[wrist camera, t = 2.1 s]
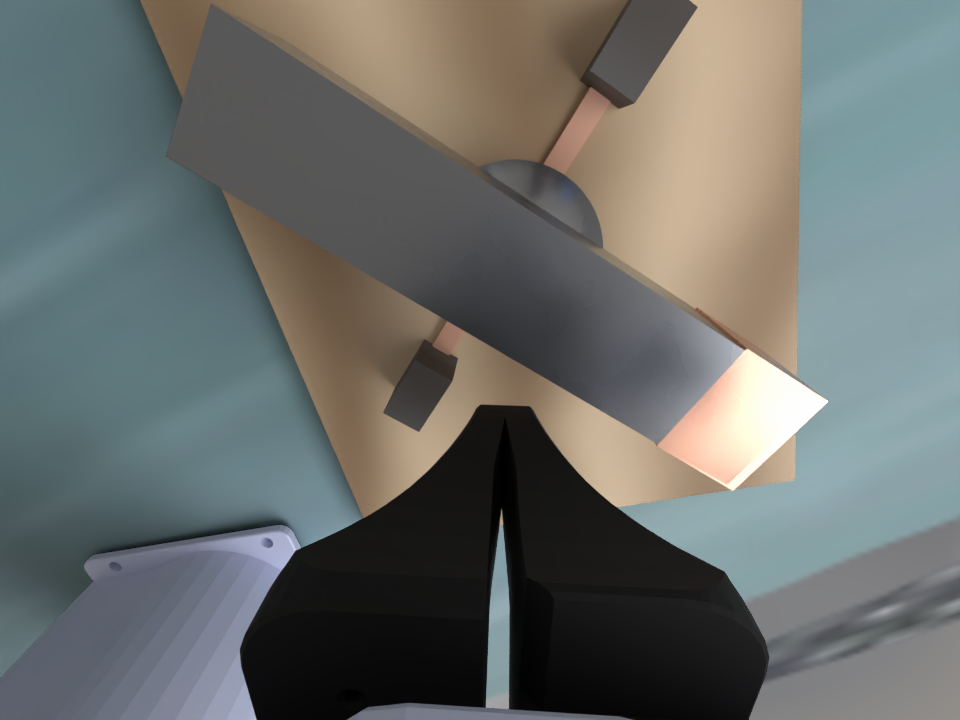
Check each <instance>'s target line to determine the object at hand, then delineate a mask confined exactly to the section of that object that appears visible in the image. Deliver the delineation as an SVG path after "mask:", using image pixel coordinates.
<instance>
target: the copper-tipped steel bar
mask: <svg viewBox="0 0 960 720" xmlns="http://www.w3.org/2000/svg"><path fill="white" fill-rule="evenodd" d="M166 157H167V158H169V159H171V160H173V161H174V162H176V163H178V164H179V165H181V166H183V167H185V168H186V169H188V170H190V171H191V172H193V173H195V174H197V175H198V176H200V177H202V178H203V179H205V180H207V181H209V182H210V183H212V184H214V185H215V186H217V187H219V188H221V189H222V190H224V191H226V192H227V193H229V194H231V195H232V196H234V197H236V198H238V199H239V200H241V201H243V202H244V203H246V204H248V205H250V206H251V207H253V208H255V209H256V210H258V211H260V212H262V213H263V214H265V215H267V216H268V217H270V218H272V219H274V220H275V221H277V222H279V223H280V224H282V225H284V226H286V227H287V228H289V229H291V230H292V231H294V232H296V233H297V234H299V235H301V236H303V237H304V238H306V239H308V240H309V241H311V242H313V243H315V244H316V245H318V246H320V247H321V248H323V249H325V250H327V251H328V252H330V253H332V254H333V255H335V256H337V257H339V258H340V259H342V260H344V261H345V262H347V263H349V264H351V265H352V266H354V267H356V268H357V269H359V270H361V271H362V272H364V273H366V274H368V275H369V276H371V277H373V278H374V279H376V280H378V281H380V282H381V283H383V284H385V285H386V286H388V287H390V288H392V289H393V290H395V291H397V292H398V293H400V294H402V295H404V296H405V297H407V298H409V299H410V300H412V301H414V302H416V303H417V304H419V305H421V306H422V307H424V308H426V309H427V310H429V311H431V312H433V313H434V314H436V315H438V316H439V317H441V318H443V319H445V320H446V321H448V322H450V323H451V324H453V325H455V326H457V327H458V328H460V329H462V330H463V331H465V332H467V333H469V334H470V335H472V336H474V337H475V338H477V339H479V340H481V341H482V342H484V343H486V344H487V345H489V346H491V347H492V348H494V349H496V350H498V351H499V352H501V353H503V354H504V355H506V356H508V357H510V358H511V359H513V360H515V361H516V362H518V363H520V364H522V365H523V366H525V367H527V368H528V369H530V370H532V371H534V372H535V373H537V374H539V375H540V376H542V377H544V378H545V379H547V380H549V381H551V382H552V383H554V384H556V385H557V386H559V387H561V388H563V389H564V390H566V391H568V392H569V393H571V394H573V395H575V396H576V397H578V398H580V399H581V400H583V401H585V402H587V403H588V404H590V405H592V406H593V407H595V408H597V409H599V410H600V411H602V412H604V413H605V414H607V415H609V416H610V417H612V418H614V419H616V420H617V421H619V422H621V423H622V424H624V425H626V426H628V427H629V428H631V429H633V430H634V431H636V432H638V433H640V434H641V435H643V436H645V437H646V438H648V439H650V440H652V441H653V442H655V444H656V446H657V447H659V448H661V449H662V450H664V451H666V452H667V453H669V454H671V455H673V456H674V457H676V458H678V459H679V460H681V461H683V462H685V463H686V464H688V465H690V466H691V467H693V468H695V469H697V470H698V471H700V472H702V473H703V474H705V475H707V476H709V477H710V478H712V479H714V480H715V481H717V482H719V483H721V484H722V485H724V486H726V487H727V488H729V489H731V490H734V489H736V488H737V487H738V486H739V485H740V484H741V483H742V482H743V481H744V480H745V479H746V478H747V477H748V476H749V475H750V474H752V473H753V472H754V471H755V470H756V469H757V468H758V467H759V466H760V465H761V464H762V463H763V462H764V461H765V460H766V459H767V458H769V457H770V456H771V455H772V454H773V453H774V452H775V451H776V450H777V449H778V448H779V447H780V446H781V445H782V444H783V443H785V442H786V441H787V440H788V439H789V438H790V437H791V436H792V435H793V434H794V433H795V432H796V431H797V430H798V429H799V428H800V427H802V426H803V425H804V424H805V423H806V422H807V421H808V420H809V419H810V418H811V417H812V416H813V415H814V414H815V413H816V412H818V411H819V410H820V409H821V408H822V407H823V406H824V405H825V404H826V403H827V402H828V401H827V400H826V399H824V398H823V397H822V396H821V395H819V394H818V393H817V392H815V391H814V390H813V389H812V388H810V387H809V386H808V385H806V384H805V383H804V382H803V381H801V380H800V379H799V378H798V377H796V376H795V375H794V374H792V373H791V372H790V371H789V370H787V369H786V368H785V367H783V366H782V365H781V364H780V363H778V362H777V361H776V360H775V359H773V358H772V357H771V356H769V355H768V354H767V353H766V352H764V351H763V350H762V349H760V348H758V347H757V346H755V345H754V344H752V343H751V342H749V341H748V340H746V339H745V338H743V337H742V336H740V335H739V334H737V333H736V332H734V331H733V330H731V329H730V328H728V327H726V326H725V325H723V324H722V323H720V322H719V321H717V320H716V319H714V318H713V317H711V316H710V315H708V314H707V313H705V312H704V311H702V310H701V309H699V308H698V307H696V309H695V308H693V307H692V306H690V305H689V304H687V303H686V302H684V301H683V300H681V299H680V298H678V297H677V296H675V295H673V294H672V293H670V292H669V291H667V290H666V289H664V288H663V287H661V286H660V285H658V284H657V283H655V282H654V281H652V280H651V279H649V278H648V277H646V276H644V275H643V274H641V273H640V272H638V271H637V270H635V269H634V268H632V267H631V266H629V265H628V264H626V263H625V262H623V261H622V260H620V259H619V258H617V257H615V256H614V255H612V254H611V253H609V252H608V251H606V250H605V249H603V237H602V231H601V227H600V223H599V220H598V217H597V214H596V212H595V210H594V208H593V206H592V204H591V202H590V201H589V199H588V198H587V196H586V195H585V194H584V192H583V191H582V190H581V189H580V188H579V187H578V186H577V185H576V184H575V183H574V182H573V181H572V180H571V179H569V178H568V177H567V176H566V175H564V174H562V173H561V172H559V171H557V170H555V169H554V168H551V167H549V166H546V165H544V164H541V163H539V162H534V161H530V160H524V159H504V160H499V161H493V162H490V163H488V164H485V165H482V166H480V167H478V166H477V165H475V164H473V163H472V162H470V161H469V160H467V159H466V158H464V157H463V156H461V155H460V154H458V153H457V152H455V151H454V150H452V149H451V148H449V147H448V146H446V145H444V144H443V143H441V142H440V141H438V140H437V139H435V138H434V137H432V136H431V135H429V134H428V133H426V132H425V131H423V130H422V129H420V128H419V127H417V126H415V125H414V124H412V123H411V122H409V121H408V120H406V119H405V118H403V117H402V116H400V115H399V114H397V113H396V112H394V111H393V110H391V109H390V108H388V107H386V106H385V105H383V104H382V103H380V102H379V101H377V100H376V99H374V98H373V97H371V96H370V95H368V94H367V93H365V92H364V91H362V90H361V89H359V88H357V87H356V86H354V85H353V84H351V83H350V82H348V81H347V80H345V79H344V78H342V77H341V76H339V75H338V74H336V73H335V72H333V71H332V70H330V69H328V68H327V67H325V66H324V65H322V64H321V63H319V62H318V61H316V60H315V59H313V58H312V57H310V56H309V55H307V54H306V53H304V52H303V51H301V50H299V49H298V48H296V47H295V46H293V45H292V44H290V43H289V42H287V41H286V40H284V39H282V38H280V37H278V36H276V35H274V34H272V33H270V32H268V31H266V30H264V29H262V28H260V27H258V26H256V25H254V24H252V23H250V22H248V21H246V20H244V19H242V18H240V17H238V16H236V15H234V14H232V13H230V12H228V11H226V10H224V9H222V8H220V7H218V6H216V5H214V4H212V3H211V4H210V8H209V11H208V15H207V18H206V21H205V25H204V28H203V32H202V35H201V38H200V42H199V45H198V49H197V52H196V55H195V59H194V62H193V66H192V69H191V72H190V76H189V79H188V83H187V86H186V90H185V93H184V96H183V100H182V103H181V107H180V110H179V113H178V117H177V120H176V124H175V127H174V130H173V134H172V137H171V141H170V144H169V148H168V151H167V154H166Z"/></svg>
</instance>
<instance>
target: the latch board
mask: <svg viewBox="0 0 960 720" xmlns="http://www.w3.org/2000/svg"><path fill="white" fill-rule="evenodd" d="M140 2H141V4H142V6H143V8H144V11H145V13H146V15H147V18H148V20H149V22H150V25H151V27H152V29H153V32H154V34H155V36H156V39H157V41H158V43H159V46H160V48H161V50H162V53H163V55H164V57H165V59H166V62H167V64H168V66H169V69H170V71H171V73H172V76H173V78H174V80H175V83H176V85H177V87H178V90H179V92H180V94H181V97H182V99H183V96H184V93H185V90H186V86H187V83H188V79H189V76H190V72H191V69H192V66H193V62H194V59H195V55H196V52H197V49H198V45H199V42H200V38H201V35H202V32H203V28H204V25H205V21H206V18H207V15H208V11H209V8H210V4H211V3H212V4H214V5H216V6H218V7H220V8H222V9H224V10H226V11H228V12H230V13H232V14H234V15H236V16H238V17H240V18H242V19H244V20H246V21H248V22H250V23H252V24H254V25H256V26H258V27H260V28H262V29H264V30H266V31H268V32H270V33H272V34H274V35H276V36H278V37H280V38H282V39H284V40H286V41H287V42H289V43H290V44H292V45H293V46H295V47H296V48H298V49H299V50H301V51H303V52H304V53H306V54H307V55H309V56H310V57H312V58H313V59H315V60H316V61H318V62H319V63H321V64H322V65H324V66H325V67H327V68H328V69H330V70H332V71H333V72H335V73H336V74H338V75H339V76H341V77H342V78H344V79H345V80H347V81H348V82H350V83H351V84H353V85H354V86H356V87H357V88H359V89H361V90H362V91H364V92H365V93H367V94H368V95H370V96H371V97H373V98H374V99H376V100H377V101H379V102H380V103H382V104H383V105H385V106H386V107H388V108H390V109H391V110H393V111H394V112H396V113H397V114H399V115H400V116H402V117H403V118H405V119H406V120H408V121H409V122H411V123H412V124H414V125H415V126H417V127H419V128H420V129H422V130H423V131H425V132H426V133H428V134H429V135H431V136H432V137H434V138H435V139H437V140H438V141H440V142H441V143H443V144H444V145H446V146H448V147H449V148H451V149H452V150H454V151H455V152H457V153H458V154H460V155H461V156H463V157H464V158H466V159H467V160H469V161H470V162H472V163H473V164H475V165H477V166H478V167H480V166H482V165H485V164H488V163H490V162H493V161H499V160H504V159H524V160H530V161H534V162H539V163H541V164H544V165H546V166H549V167H551V168H554V169H555V170H557V171H559V172H561V173H562V174H564V175H566V176H567V177H568V178H569V179H571V180H572V181H573V182H574V183H575V184H576V185H577V186H578V187H579V188H580V189H581V190H582V191H583V192H584V194H585V195H586V196H587V198H588V199H589V201H590V202H591V204H592V206H593V208H594V210H595V212H596V214H597V217H598V220H599V223H600V227H601V231H602V237H603V249H605V250H606V251H608V252H609V253H611V254H612V255H614V256H615V257H617V258H619V259H620V260H622V261H623V262H625V263H626V264H628V265H629V266H631V267H632V268H634V269H635V270H637V271H638V272H640V273H641V274H643V275H644V276H646V277H648V278H649V279H651V280H652V281H654V282H655V283H657V284H658V285H660V286H661V287H663V288H664V289H666V290H667V291H669V292H670V293H672V294H673V295H675V296H677V297H678V298H680V299H681V300H683V301H684V302H686V303H687V304H689V305H690V306H692V307H693V308H695V309H696V307H698V308H699V309H701V310H702V311H704V312H705V313H707V314H708V315H710V316H711V317H713V318H714V319H716V320H717V321H719V322H720V323H722V324H723V325H725V326H726V327H728V328H730V329H731V330H733V331H734V332H736V333H737V334H739V335H740V336H742V337H743V338H745V339H746V340H748V341H749V342H751V343H752V344H754V345H755V346H757V347H758V348H760V349H762V350H763V351H764V352H766V353H767V354H768V355H769V356H771V357H772V358H773V359H775V360H776V361H777V362H778V363H780V364H781V365H782V366H783V367H785V368H786V369H787V370H789V371H790V372H791V373H792V374H794V375H795V376H796V377H797V312H798V246H799V181H800V116H801V51H802V0H140ZM222 192H223V194H224V196H225V199H226V201H227V203H228V206H229V208H230V210H231V212H232V215H233V217H234V219H235V222H236V224H237V226H238V229H239V231H240V233H241V236H242V238H243V240H244V243H245V245H246V247H247V250H248V252H249V254H250V257H251V259H252V261H253V263H254V266H255V268H256V270H257V273H258V275H259V277H260V280H261V282H262V284H263V287H264V289H265V291H266V294H267V296H268V298H269V301H270V303H271V305H272V308H273V310H274V312H275V314H276V317H277V319H278V321H279V324H280V326H281V328H282V331H283V333H284V335H285V338H286V340H287V342H288V345H289V347H290V349H291V352H292V354H293V356H294V359H295V361H296V363H297V365H298V368H299V370H300V372H301V375H302V377H303V379H304V382H305V384H306V386H307V389H308V391H309V393H310V396H311V398H312V400H313V403H314V405H315V407H316V410H317V412H318V414H319V416H320V419H321V421H322V423H323V426H324V428H325V430H326V433H327V435H328V437H329V440H330V442H331V444H332V447H333V449H334V451H335V454H336V456H337V458H338V461H339V463H340V465H341V467H342V470H343V472H344V474H345V477H346V479H347V481H348V484H349V486H350V488H351V491H352V493H353V495H354V498H355V500H356V502H357V505H358V507H359V509H360V512H361V514H362V516H363V518H365V517H367V516H368V515H370V514H371V513H373V512H375V511H376V510H378V509H380V508H381V507H383V506H384V505H386V504H387V503H389V502H390V501H391V500H393V499H394V498H396V497H397V496H398V495H400V494H401V493H403V492H404V491H405V490H406V489H408V488H409V487H410V486H411V485H413V484H414V483H415V482H416V481H417V480H418V479H419V478H421V477H422V476H423V475H424V474H425V473H426V472H427V471H428V470H429V469H430V468H431V467H432V466H433V465H434V464H435V463H436V462H437V461H438V460H439V459H440V457H441V456H442V455H443V454H444V453H445V452H446V451H447V450H448V449H449V447H450V446H451V445H452V444H453V442H454V441H455V440H456V438H457V437H458V436H459V435H460V433H461V432H462V431H463V429H464V428H465V426H466V425H467V423H468V422H469V420H470V419H471V417H472V415H473V413H474V412H475V409H476V408H477V407H478V406H479V405H480V404H485V405H512V406H530V407H531V408H532V409H533V410H534V412H535V414H536V416H537V418H538V419H539V421H540V423H541V424H542V426H543V428H544V429H545V431H546V432H547V434H548V435H549V437H550V438H551V440H552V441H553V442H554V444H555V445H556V446H557V448H558V449H559V450H560V452H561V453H562V454H563V455H564V457H565V458H566V459H567V460H568V462H569V463H570V464H571V465H572V466H573V467H574V468H575V470H576V471H577V472H578V473H579V474H580V475H581V476H582V477H583V478H584V479H585V480H586V481H587V482H588V483H589V484H590V485H591V486H592V487H593V488H594V489H595V490H596V491H597V492H599V493H600V494H601V495H602V496H603V497H604V498H606V499H607V500H608V501H609V502H610V503H612V504H613V505H614V506H616V507H621V506H628V505H634V504H641V503H648V502H654V501H661V500H668V499H674V498H681V497H687V496H694V495H701V494H707V493H714V492H720V491H727V490H731V489H729V488H727V487H726V486H724V485H722V484H721V483H719V482H717V481H715V480H714V479H712V478H710V477H709V476H707V475H705V474H703V473H702V472H700V471H698V470H697V469H695V468H693V467H691V466H690V465H688V464H686V463H685V462H683V461H681V460H679V459H678V458H676V457H674V456H673V455H671V454H669V453H667V452H666V451H664V450H662V449H661V448H659V447H657V446H656V444H655V442H653V441H652V440H650V439H648V438H646V437H645V436H643V435H641V434H640V433H638V432H636V431H634V430H633V429H631V428H629V427H628V426H626V425H624V424H622V423H621V422H619V421H617V420H616V419H614V418H612V417H610V416H609V415H607V414H605V413H604V412H602V411H600V410H599V409H597V408H595V407H593V406H592V405H590V404H588V403H587V402H585V401H583V400H581V399H580V398H578V397H576V396H575V395H573V394H571V393H569V392H568V391H566V390H564V389H563V388H561V387H559V386H557V385H556V384H554V383H552V382H551V381H549V380H547V379H545V378H544V377H542V376H540V375H539V374H537V373H535V372H534V371H532V370H530V369H528V368H527V367H525V366H523V365H522V364H520V363H518V362H516V361H515V360H513V359H511V358H510V357H508V356H506V355H504V354H503V353H501V352H499V351H498V350H496V349H494V348H492V347H491V346H489V345H487V344H486V343H484V342H482V341H481V340H479V339H477V338H475V337H474V336H472V335H470V334H469V333H467V332H465V331H463V330H462V329H460V328H458V327H457V326H455V325H453V324H451V323H450V322H448V321H446V320H445V319H443V318H441V317H439V316H438V315H436V314H434V313H433V312H431V311H429V310H427V309H426V308H424V307H422V306H421V305H419V304H417V303H416V302H414V301H412V300H410V299H409V298H407V297H405V296H404V295H402V294H400V293H398V292H397V291H395V290H393V289H392V288H390V287H388V286H386V285H385V284H383V283H381V282H380V281H378V280H376V279H374V278H373V277H371V276H369V275H368V274H366V273H364V272H362V271H361V270H359V269H357V268H356V267H354V266H352V265H351V264H349V263H347V262H345V261H344V260H342V259H340V258H339V257H337V256H335V255H333V254H332V253H330V252H328V251H327V250H325V249H323V248H321V247H320V246H318V245H316V244H315V243H313V242H311V241H309V240H308V239H306V238H304V237H303V236H301V235H299V234H297V233H296V232H294V231H292V230H291V229H289V228H287V227H286V226H284V225H282V224H280V223H279V222H277V221H275V220H274V219H272V218H270V217H268V216H267V215H265V214H263V213H262V212H260V211H258V210H256V209H255V208H253V207H251V206H250V205H248V204H246V203H244V202H243V201H241V200H239V199H238V198H236V197H234V196H232V195H231V194H229V193H227V192H226V191H224V190H222ZM795 442H796V432H795V433H794V434H793V435H792V436H791V437H790V438H789V439H788V440H787V441H786V442H785V443H783V444H782V445H781V446H780V447H779V448H778V449H777V450H776V451H775V452H774V453H773V454H772V455H771V456H770V457H769V458H767V459H766V460H765V461H764V462H763V463H762V464H761V465H760V466H759V467H758V468H757V469H756V470H755V471H754V472H753V473H752V474H750V475H749V476H748V477H747V478H746V479H745V480H744V481H743V482H742V483H741V484H740V485H739V486H738V487H737V488H736V489H740V488H747V487H753V486H760V485H767V484H773V483H780V482H786V481H793V480H795ZM502 524H503V518H502V510H501V518H500V525H502Z"/></svg>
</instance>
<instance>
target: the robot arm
mask: <svg viewBox="0 0 960 720" xmlns="http://www.w3.org/2000/svg"><path fill="white" fill-rule="evenodd" d="M501 510H502V518H503V529H504V541H505V552H506V563H507V574H508V585H509V603H510V654H509V709H495V708H486V683H487V657H488V632H489V607H490V595H491V586H492V578H493V570H494V563H495V555H496V548H497V540H498V533H499V525H500V518H501ZM267 538H268V539H267ZM269 539H271V540H269ZM84 569H85V571H86V572H87V573H88V575H89V576H90V577H91V579H92V580H93V582H92V583H91V584H90V585H89V586H88V587H87V588H86V589H85V590H84V592H83V593H82V594H81V595H80V596H79V597H78V598H77V599H76V600H75V601H74V602H73V603H72V604H71V605H70V606H69V607H68V608H67V609H66V610H65V611H64V612H63V613H62V614H61V615H60V616H59V617H58V618H57V620H56V621H55V622H54V623H53V624H52V625H51V626H50V627H49V628H48V629H47V630H46V631H45V632H44V633H43V634H42V635H41V636H40V637H39V638H38V639H37V640H36V641H35V642H34V643H33V644H32V645H31V647H30V648H29V649H28V650H27V651H26V652H25V653H24V654H23V655H22V656H21V657H20V658H19V659H18V660H17V661H16V662H15V663H14V664H13V665H12V666H11V667H10V668H9V669H8V670H7V671H6V672H5V673H4V675H3V676H2V677H1V678H0V720H749V717H750V714H751V712H752V709H753V707H754V704H755V702H756V699H757V697H758V694H759V691H760V689H761V686H762V684H763V681H764V679H765V676H766V672H767V667H768V661H769V655H768V650H767V646H766V642H765V639H764V637H763V636H762V634H761V632H760V630H759V628H758V626H757V624H756V622H755V620H754V618H753V616H752V614H751V613H750V611H749V609H748V608H747V606H746V604H745V602H744V601H743V599H742V597H741V596H740V594H739V593H738V592H737V590H736V589H735V587H734V586H733V584H732V583H731V581H730V580H729V578H728V576H727V575H726V573H725V572H724V571H722V570H720V569H718V568H716V567H714V566H712V565H710V564H708V563H706V562H705V561H703V560H701V559H699V558H697V557H695V556H693V555H691V554H689V553H687V552H685V551H683V550H681V549H679V548H677V547H676V546H674V545H672V544H670V543H669V542H667V541H666V540H664V539H662V538H661V537H659V536H657V535H656V534H654V533H653V532H651V531H649V530H648V529H646V528H645V527H643V526H642V525H640V524H639V523H637V522H636V521H634V520H633V519H631V518H630V517H629V516H627V515H626V514H625V513H623V512H622V511H621V510H620V509H618V508H617V507H616V506H614V505H613V504H612V503H610V502H609V501H608V500H607V499H606V498H604V497H603V496H602V495H601V494H600V493H599V492H597V491H596V490H595V489H594V488H593V487H592V486H591V485H590V484H589V483H588V482H587V481H586V480H585V479H584V478H583V477H582V476H581V475H580V474H579V473H578V472H577V471H576V470H575V468H574V467H573V466H572V465H571V464H570V463H569V462H568V460H567V459H566V458H565V457H564V455H563V454H562V453H561V452H560V450H559V449H558V448H557V446H556V445H555V444H554V442H553V441H552V440H551V438H550V437H549V435H548V434H547V432H546V431H545V429H544V428H543V426H542V424H541V423H540V421H539V419H538V418H537V416H536V414H535V412H534V410H533V409H532V408H531V407H530V406H512V405H485V404H480V405H479V406H478V407H477V408H476V409H475V412H474V413H473V415H472V417H471V419H470V420H469V422H468V423H467V425H466V426H465V428H464V429H463V431H462V432H461V433H460V435H459V436H458V437H457V438H456V440H455V441H454V442H453V444H452V445H451V446H450V447H449V449H448V450H447V451H446V452H445V453H444V454H443V455H442V456H441V457H440V459H439V460H438V461H437V462H436V463H435V464H434V465H433V466H432V467H431V468H430V469H429V470H428V471H427V472H426V473H425V474H424V475H423V476H422V477H421V478H419V479H418V480H417V481H416V482H415V483H414V484H413V485H411V486H410V487H409V488H408V489H406V490H405V491H404V492H403V493H401V494H400V495H398V496H397V497H396V498H394V499H393V500H391V501H390V502H389V503H387V504H386V505H384V506H383V507H381V508H380V509H378V510H376V511H375V512H373V513H371V514H370V515H368V516H367V517H365V518H363V519H361V520H359V521H358V522H356V523H354V524H352V525H350V526H348V527H346V528H344V529H342V530H340V531H338V532H336V533H334V534H332V535H330V536H327V537H325V538H323V539H321V540H319V541H316V542H314V543H312V544H310V545H308V546H305V547H303V548H301V547H300V545H299V543H298V541H297V539H296V537H295V535H294V533H293V532H292V530H291V529H290V528H288V527H287V526H283V525H275V526H269V527H263V528H256V529H250V530H244V531H238V532H232V533H226V534H219V535H213V536H207V537H201V538H195V539H189V540H183V541H176V542H170V543H164V544H158V545H152V546H146V547H139V548H133V549H127V550H121V551H115V552H109V553H103V554H96V555H93V556H91V557H90V558H89V559H88V560H87V561H86V562H85V564H84Z"/></svg>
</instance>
